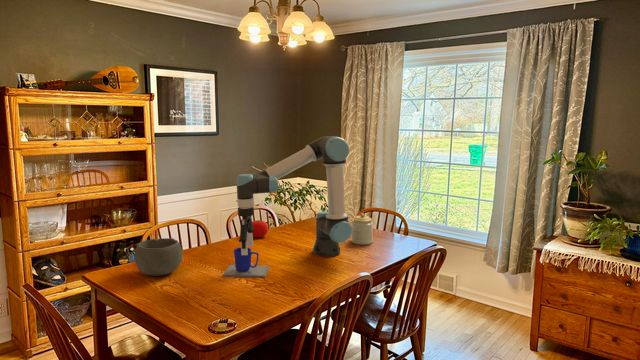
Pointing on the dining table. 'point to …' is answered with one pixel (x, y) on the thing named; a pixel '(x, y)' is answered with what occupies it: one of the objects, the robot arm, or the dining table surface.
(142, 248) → the bowl
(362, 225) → the jar
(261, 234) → the tomato
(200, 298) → the dining table surface
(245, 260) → the mug
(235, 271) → the plate
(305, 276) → the dining table surface
